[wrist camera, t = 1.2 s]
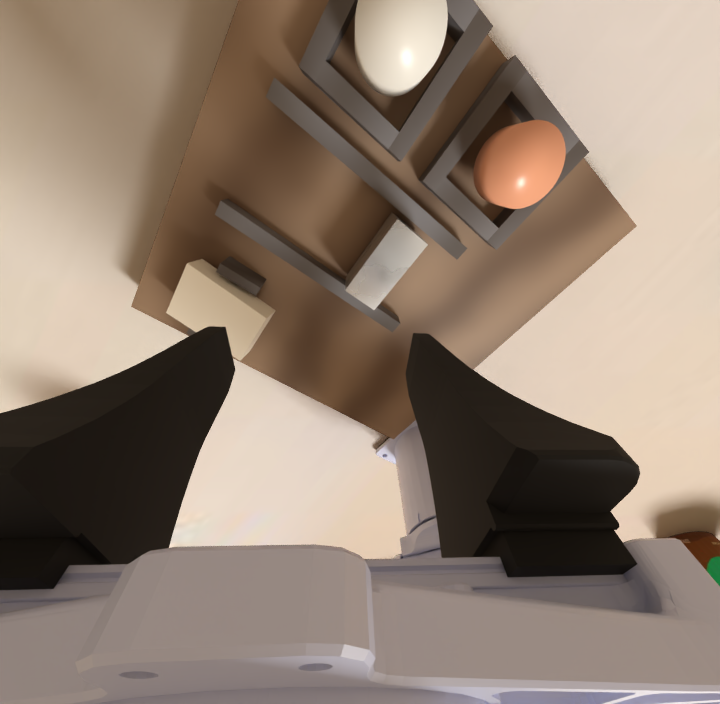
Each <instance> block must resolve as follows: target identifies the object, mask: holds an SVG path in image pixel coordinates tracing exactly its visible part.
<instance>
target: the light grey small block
mask: <svg viewBox="0 0 720 704" xmlns="http://www.w3.org/2000/svg"><path fill="white" fill-rule="evenodd" d="M427 245H428V244H427V243H426V242H425V241H424V240H423V239H422V238H421V237H420V236H419V235H418V234H417V233H416V232H415V231H414V230H413V229H411V228H410V227H409V226H408V225H407V224H405V223H404V222H403V221H402V220H401V219H399V218H398V217H397V216H396V215H395V214H393V213H392V212H391V214H390V215H389V217H388V218H387V219H386V221H385V222H384V224H383V225H382V226H381V228H380V229H379V231H378V232H377V233H376V235H375V236H374V238H373V239H372V240H371V242H370V243H369V245H368V246H367V247H366V249H365V250H364V251H363V253H362V254H361V256H360V257H359V258H358V260H357V261H356V263H355V264H354V265H353V267H352V268H351V270H350V271H349V272H348V274H347V275H346V281H345V291H346V292H348V293H349V294H351V295H352V296H354V297H355V298H357V299H358V300H360V301H361V302H363V303H364V304H366V305H367V306H369V307H370V308H372V309H373V310H375V309H376V308H377V306H378V305H379V304H380V303H381V301H382V300H383V299H384V298H385V297H386V295H387V294H388V293H389V292H390V291H391V289H392V288H393V287H394V286H395V284H396V283H397V282H398V281H399V280H400V278H401V277H402V276H403V275H404V273H405V272H406V271H407V270H408V269H409V267H410V266H411V265H412V264H413V262H414V261H415V260H416V259H417V258H418V256H419V255H420V254H421V253H422V251H423V250H424V249H425V248H426V247H427Z"/></svg>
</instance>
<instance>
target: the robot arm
mask: <svg viewBox="0 0 720 704" xmlns="http://www.w3.org/2000/svg"><path fill="white" fill-rule="evenodd" d="M234 372H235V366H234V362H233V358H232V353H231V349H230V344H229V340H228V335H227V331H226V327H216V326H209V327H206V328H204V329H202V330H200V331H198V332H196V333H194V334H193V335H191V336H189V337H187V338H185V339H184V340H182V341H180V342H178V343H177V344H175V345H173V346H171V347H169V348H168V349H166V350H164V351H162V352H160V353H158V354H156V355H155V356H153V357H151V358H149V359H147V360H145V361H143V362H141V363H139V364H137V365H135V366H133V367H131V368H129V369H127V370H124V371H122V372H120V373H118V374H115V375H113V376H111V377H108V378H106V379H103V380H101V381H99V382H96V383H94V384H91V385H88V386H85V387H82V388H80V389H77V390H74V391H71V392H68V393H66V394H63V395H60V396H57V397H54V398H51V399H48V400H45V401H41V402H38V403H35V404H32V405H28V406H25V407H21V408H18V409H14V410H11V411H7V412H4V413H0V704H720V586H719V585H718V584H717V583H716V581H715V580H714V579H713V578H712V577H711V576H710V574H709V573H708V572H707V571H706V570H705V569H704V567H703V566H702V565H701V564H700V563H699V562H698V560H697V559H696V558H695V557H694V556H693V555H692V553H691V552H690V551H689V550H688V549H687V548H686V546H685V545H684V544H683V543H682V542H681V541H680V540H678V539H676V538H650V539H633V540H630V541H626V542H624V543H623V542H622V541H621V540H620V538H619V537H618V535H617V534H616V533H615V531H614V530H617V529H618V528H619V523H618V521H617V520H616V519H615V517H614V516H613V514H612V513H611V512H610V511H611V510H612V509H613V508H614V507H615V506H616V505H617V504H618V503H619V502H620V501H621V500H622V499H623V498H624V497H625V496H626V495H628V494H629V493H630V492H631V490H632V489H633V488H634V487H635V485H636V484H637V481H638V479H639V475H640V471H639V466H638V465H637V464H636V463H635V462H634V461H633V459H632V458H631V457H630V456H629V455H628V454H627V453H626V452H625V451H624V450H623V448H622V447H621V446H620V445H619V444H618V443H617V442H616V441H615V440H614V439H613V438H612V437H610V436H607V435H605V434H602V433H599V432H596V431H594V430H591V429H588V428H585V427H582V426H580V425H577V424H574V423H571V422H569V421H567V420H564V419H562V418H559V417H557V416H555V415H552V414H550V413H548V412H545V411H543V410H541V409H539V408H537V407H535V406H533V405H531V404H529V403H527V402H525V401H523V400H521V399H519V398H517V397H515V396H513V395H511V394H510V393H508V392H506V391H504V390H503V389H501V388H500V387H498V386H496V385H495V384H493V383H491V382H490V381H488V380H487V379H485V378H484V377H482V376H481V375H479V374H478V373H477V372H475V371H474V370H473V369H471V368H470V367H469V366H467V365H466V364H465V363H463V362H462V361H461V360H460V359H458V358H457V357H456V356H455V355H454V354H452V353H451V352H450V351H449V350H448V349H446V348H445V347H444V346H443V345H442V344H441V343H439V342H438V341H437V340H436V339H435V338H434V337H432V336H431V335H430V334H427V333H413V336H412V342H411V347H410V352H409V357H408V363H407V368H406V373H405V375H406V382H407V388H408V394H409V398H410V402H411V405H412V408H413V412H414V415H415V418H416V420H415V421H414V422H413V423H412V424H411V425H409V426H408V427H407V428H406V429H405V430H404V431H403V432H401V433H400V434H399V435H398V436H397V437H396V438H395V439H392V438H389V439H388V440H386V441H385V442H384V443H383V444H382V445H381V446H380V447H379V448H377V450H376V455H377V456H379V457H381V458H383V459H385V460H387V461H389V462H392V463H394V464H396V466H397V473H398V480H399V486H400V493H401V500H402V507H403V513H404V520H405V527H406V534H407V536H405V537H402V538H400V543H401V551H402V554H398V555H396V556H395V557H394V559H363V558H362V557H361V556H360V555H357V554H355V553H353V552H351V551H348V550H346V549H344V548H342V547H333V546H323V545H261V546H200V547H173V548H169V545H170V541H171V537H172V534H173V530H174V527H175V524H176V520H177V517H178V514H179V510H180V507H181V504H182V500H183V497H184V494H185V491H186V488H187V485H188V482H189V479H190V476H191V474H192V471H193V468H194V465H195V463H196V460H197V457H198V454H199V452H200V449H201V447H202V445H203V442H204V440H205V438H206V436H207V434H208V432H209V430H210V428H211V426H212V424H213V422H214V420H215V418H216V416H217V414H218V412H219V410H220V408H221V406H222V404H223V402H224V400H225V398H226V396H227V394H228V391H229V388H230V385H231V382H232V379H233V376H234Z"/></svg>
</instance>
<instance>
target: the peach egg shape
mask: <svg viewBox="0 0 720 704" xmlns="http://www.w3.org/2000/svg"><path fill="white" fill-rule="evenodd" d="M565 156H566V147H565V141H564V138H563V136H562V133H561V132H560V130H559V129H558V128H557V127H556V126H555V125H553V124H552V123H550V122H548V121H544V120H531V121H527V122H523V123H519V124H515V125H511V126H507V127H504V128H502V129H500V130H498V131H497V132H495V133H494V134H493V135H492V136H491V137H490V138H489V139H488V140H487V141H486V142H485V143H484V145H483V146H482V148H481V149H480V151H479V153H478V155H477V158H476V161H475V165H474V171H473V179H474V185H475V188H476V190H477V192H478V194H479V195H480V196H481V197H482V198H483V199H484V200H485V201H487V202H489V203H492V204H496V205H499V206H503V207H506V208H511V209H521V208H525V207H528V206H530V205H532V204H534V203H536V202H538V201H539V200H541V199H542V198H543V197H544V196H545V195H546V194H547V193H548V192H549V191H550V190H551V189H552V188H553V186H554V185H555V183H556V182H557V180H558V178H559V176H560V174H561V172H562V169H563V166H564V162H565Z"/></svg>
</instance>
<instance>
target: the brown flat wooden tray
mask: <svg viewBox="0 0 720 704" xmlns="http://www.w3.org/2000/svg"><path fill="white" fill-rule="evenodd" d="M446 2H447V12H448V20H447V30H446V36H445V40H444V44H443V47H442V50H441V52H440V54H439V57H438V59H437V60H436V62H435V64H434V65H433V67H432V68H431V70H430V71H429V72H428V73H427V74H426V76H425V77H424V78H423V79H422V80H421V81H420V83H419V84H418V85H417V86H416V87H415V88H413V89H412V90H411V91H409V92H408V93H406V94H403V95H400V96H395V97H391V96H385V95H382V94H379V93H378V92H376V91H374V90H373V89H372V88H371V87H370V86H369V85H368V84H367V83H366V81H365V80H364V78H363V76H362V74H361V72H360V70H359V67H358V64H357V61H356V55H355V45H354V43H355V15H356V8H357V3H358V0H239V1H238V4H237V7H236V10H235V13H234V15H233V18H232V21H231V24H230V27H229V30H228V33H227V35H226V38H225V41H224V44H223V47H222V50H221V52H220V55H219V58H218V61H217V64H216V67H215V70H214V72H213V75H212V78H211V81H210V84H209V87H208V89H207V92H206V95H205V98H204V101H203V104H202V107H201V109H200V112H199V115H198V118H197V121H196V124H195V127H194V129H193V132H192V135H191V138H190V141H189V144H188V146H187V149H186V152H185V155H184V158H183V161H182V164H181V166H180V169H179V172H178V175H177V178H176V181H175V183H174V186H173V189H172V192H171V195H170V198H169V201H168V203H167V206H166V209H165V212H164V215H163V218H162V221H161V223H160V226H159V229H158V232H157V235H156V238H155V240H154V243H153V246H152V249H151V252H150V255H149V258H148V260H147V263H146V266H145V269H144V272H143V275H142V277H141V280H140V283H139V286H138V289H137V292H136V295H135V297H134V300H133V303H132V306H131V307H133V308H135V309H137V310H139V311H141V312H143V313H145V314H147V315H149V316H151V317H153V318H155V319H157V320H159V321H161V322H163V323H165V324H167V325H169V326H171V327H173V328H175V329H177V330H179V331H181V332H183V333H184V334H186V335H188V336H191V335H193V334H194V333H196V332H195V331H193V330H192V329H190V328H189V327H187V326H186V325H184V324H182V323H181V322H179V321H178V320H176V319H175V318H173V317H172V316H170V315H169V314H167V313H166V312H167V309H168V307H169V305H170V302H171V300H172V298H173V295H174V293H175V290H176V288H177V286H178V283H179V281H180V279H181V276H182V274H183V272H184V269H185V267H186V264H187V263H189V262H193V261H196V260H200V259H203V260H205V261H206V262H208V263H209V264H210V265H212V266H213V267H215V268H216V269H217V271H216V272H217V273H218V274H220V275H222V276H223V277H225V278H227V279H228V280H230V281H232V282H233V283H235V284H237V285H238V286H240V287H242V288H243V289H245V290H247V291H249V292H250V293H252V294H253V295H254V296H256V297H257V298H259V299H260V300H261V301H263V302H264V303H266V304H267V305H269V306H270V307H271V308H273V309H274V310H276V311H275V312H274V314H273V316H272V317H271V319H270V320H269V322H268V323H267V325H266V327H265V328H264V330H263V331H262V333H261V335H260V336H259V338H258V339H257V341H256V342H255V344H254V346H253V347H252V349H251V350H250V352H249V353H248V354H247V355H246V356H245V357H244V358H243V359H242V360H241V361H240V362H242V363H244V364H246V365H248V366H250V367H252V368H254V369H256V370H258V371H260V372H261V373H263V374H265V375H267V376H269V377H271V378H273V379H275V380H277V381H279V382H281V383H283V384H285V385H287V386H289V387H291V388H293V389H295V390H297V391H299V392H301V393H303V394H305V395H307V396H309V397H311V398H313V399H315V400H317V401H319V402H321V403H323V404H325V405H327V406H329V407H331V408H333V409H335V410H337V411H338V412H340V413H342V414H344V415H346V416H348V417H350V418H352V419H354V420H356V421H358V422H360V423H362V424H364V425H366V426H368V427H370V428H372V429H374V430H376V431H378V432H380V433H382V434H384V435H386V436H388V437H390V438H392V439H395V438H396V437H397V436H398V435H399V434H400V433H401V432H403V431H404V430H405V429H406V428H407V427H408V426H409V425H411V424H412V423H413V422H414V421H415V420H416V418H415V415H414V412H413V408H412V405H411V402H410V398H409V394H408V388H407V382H406V375H405V373H406V368H407V363H408V357H409V352H410V347H411V342H412V336H413V333H427V334H430V335H431V336H432V337H434V338H435V339H436V340H437V341H438V342H439V343H441V344H442V345H443V346H444V347H445V348H446V349H448V350H449V351H450V352H451V353H452V354H454V355H455V356H456V357H457V358H458V359H460V360H461V361H462V362H463V363H465V364H466V365H467V366H469V367H470V368H471V369H474V368H475V367H477V366H478V365H479V364H480V363H481V362H482V361H483V360H485V359H486V358H487V357H488V356H489V355H490V354H491V353H493V352H494V351H495V350H496V349H497V348H498V347H499V346H500V345H502V344H503V343H504V342H505V341H506V340H507V339H508V338H510V337H511V336H512V335H513V334H514V333H515V332H516V331H518V330H519V329H520V328H521V327H522V326H523V325H524V324H526V323H527V322H528V321H529V320H530V319H531V318H532V317H534V316H535V315H536V314H537V313H538V312H539V311H540V310H541V309H543V308H544V307H545V306H546V305H547V304H548V303H549V302H551V301H552V300H553V299H554V298H555V297H556V296H557V295H559V294H560V293H561V292H562V291H563V290H564V289H565V288H567V287H568V286H569V285H570V284H571V283H572V282H573V281H575V280H576V279H577V278H578V277H579V276H580V275H581V274H582V273H584V272H585V271H586V270H587V269H588V268H589V267H590V266H592V265H593V264H594V263H595V262H596V261H597V260H598V259H600V258H601V257H602V256H603V255H604V254H605V253H606V252H608V251H609V250H610V249H611V248H612V247H613V246H614V245H616V244H617V243H618V242H619V241H620V240H621V239H622V238H624V237H625V236H626V235H627V234H628V233H629V232H630V231H631V230H633V229H634V228H635V227H636V224H635V223H634V222H633V221H632V219H631V218H630V217H629V215H628V214H627V213H626V212H625V210H624V209H623V208H622V206H621V205H620V204H619V203H618V201H617V200H616V199H615V198H614V196H613V195H612V194H611V192H610V191H609V190H608V189H607V187H606V186H605V185H604V183H603V182H602V181H601V180H600V178H599V177H598V176H597V174H596V173H595V172H594V171H593V169H592V168H591V167H590V165H589V164H588V163H587V162H586V160H585V159H584V157H585V156H586V155H587V154H588V153H589V151H588V150H587V149H586V147H585V146H584V145H583V143H582V142H581V141H580V140H579V138H578V137H577V136H576V134H575V133H574V132H573V130H572V129H571V128H570V126H569V125H568V124H567V122H566V121H565V120H564V119H563V117H562V116H561V115H560V113H559V112H558V111H557V109H556V108H555V107H554V105H553V104H552V103H551V102H550V100H549V99H548V98H547V96H546V95H545V94H544V92H543V91H542V90H541V88H540V87H539V86H538V84H537V83H536V82H535V81H534V79H533V78H532V77H531V75H530V74H529V73H528V71H527V70H526V69H525V67H524V66H523V65H522V64H521V62H520V61H519V60H518V58H517V57H516V56H513V57H512V58H510V59H509V60H507V59H506V58H505V56H504V55H503V54H502V52H501V51H500V50H499V49H498V47H497V46H496V45H495V43H494V42H493V41H492V40H491V38H490V37H489V36H488V33H489V31H490V30H491V28H492V27H493V26H492V24H491V23H490V22H489V20H488V19H487V18H486V16H485V15H484V14H483V12H482V11H481V10H480V8H479V7H478V6H477V5H476V3H475V2H474V1H473V0H446ZM531 120H544V121H548V122H550V123H552V124H553V125H555V126H556V127H557V128H558V129H559V130H560V132H561V133H562V136H563V138H564V141H565V147H566V156H565V162H564V166H563V169H562V172H561V174H560V176H559V178H558V180H557V182H556V183H555V185H554V186H553V188H552V189H551V190H550V191H549V192H548V193H547V194H546V195H545V196H544V197H543V198H542V199H541V200H539V201H538V202H536V203H534V204H532V205H530V206H528V207H525V208H521V209H511V208H506V207H503V206H499V205H496V204H492V203H489V202H487V201H485V200H484V199H483V198H482V197H481V196H480V195H479V194H478V192H477V190H476V188H475V185H474V179H473V171H474V165H475V161H476V158H477V155H478V153H479V151H480V149H481V148H482V146H483V145H484V143H485V142H486V141H487V140H488V139H489V138H490V137H491V136H492V135H493V134H494V133H495V132H497V131H498V130H500V129H502V128H504V127H507V126H511V125H515V124H519V123H523V122H527V121H531ZM391 212H392V213H393V214H395V215H396V216H397V217H398V218H399V219H401V220H402V221H403V222H404V223H405V224H407V225H408V226H409V227H410V228H411V229H413V230H414V231H415V232H416V233H417V234H418V235H419V236H420V237H421V238H422V239H423V240H424V241H425V242H426V243H427V244H428V245H427V247H426V248H425V249H424V250H423V251H422V253H421V254H420V255H419V256H418V258H417V259H416V260H415V261H414V262H413V264H412V265H411V266H410V267H409V269H408V270H407V271H406V272H405V273H404V275H403V276H402V277H401V278H400V280H399V281H398V282H397V283H396V284H395V286H394V287H393V288H392V289H391V291H390V292H389V293H388V294H387V295H386V297H385V298H384V299H383V300H382V301H381V303H380V304H379V305H378V306H377V308H376V309H375V310H373V309H372V308H370V307H369V306H367V305H366V304H364V303H363V302H361V301H360V300H358V299H357V298H355V297H354V296H352V295H351V294H349V293H348V292H346V291H345V281H346V275H347V274H348V272H349V271H350V270H351V268H352V267H353V265H354V264H355V263H356V261H357V260H358V258H359V257H360V256H361V254H362V253H363V251H364V250H365V249H366V247H367V246H368V245H369V243H370V242H371V240H372V239H373V238H374V236H375V235H376V233H377V232H378V231H379V229H380V228H381V226H382V225H383V224H384V222H385V221H386V219H387V218H388V217H389V215H390V214H391ZM232 358H234V359H236V358H235V357H233V356H232ZM236 360H238V359H236ZM238 361H239V360H238Z"/></svg>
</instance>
